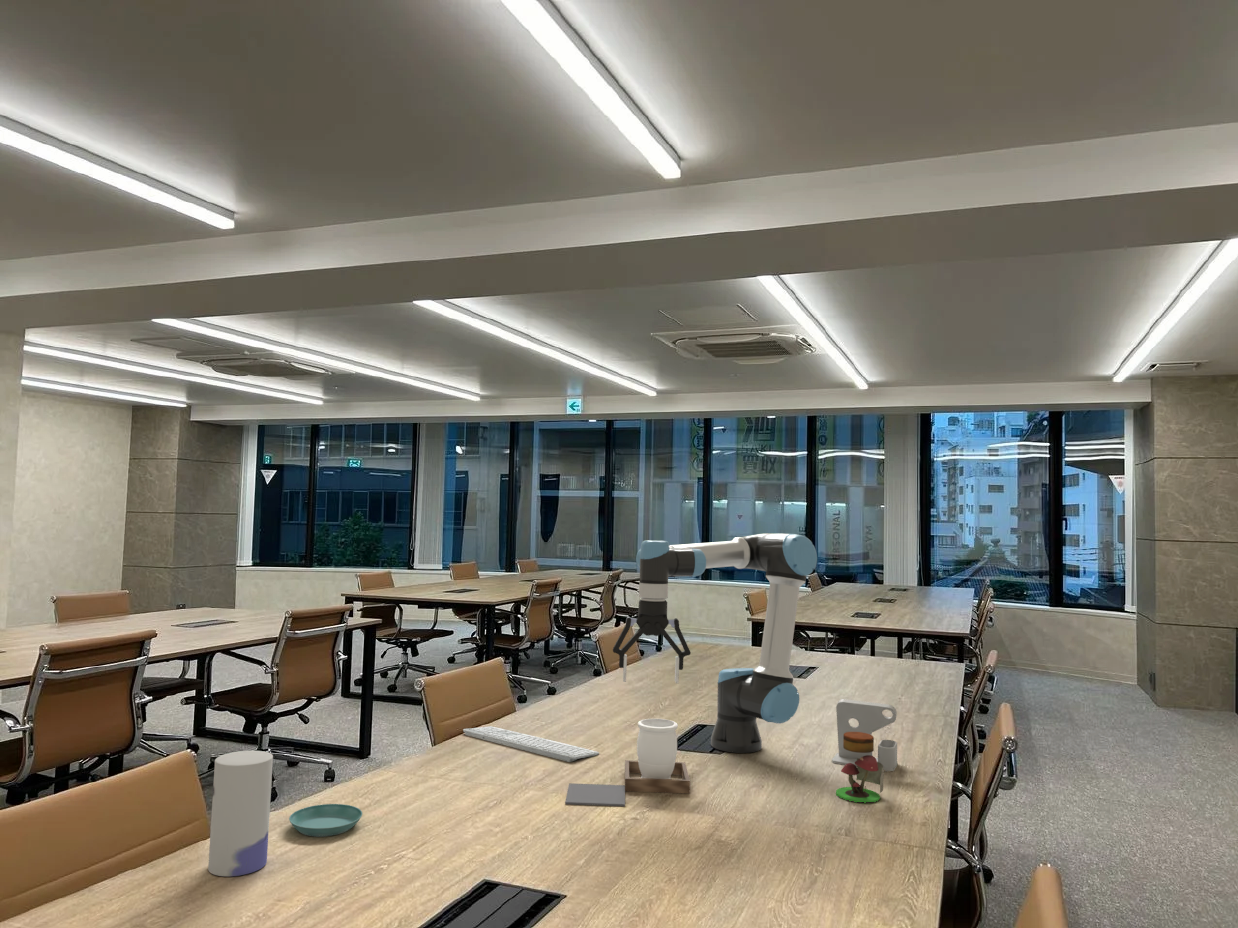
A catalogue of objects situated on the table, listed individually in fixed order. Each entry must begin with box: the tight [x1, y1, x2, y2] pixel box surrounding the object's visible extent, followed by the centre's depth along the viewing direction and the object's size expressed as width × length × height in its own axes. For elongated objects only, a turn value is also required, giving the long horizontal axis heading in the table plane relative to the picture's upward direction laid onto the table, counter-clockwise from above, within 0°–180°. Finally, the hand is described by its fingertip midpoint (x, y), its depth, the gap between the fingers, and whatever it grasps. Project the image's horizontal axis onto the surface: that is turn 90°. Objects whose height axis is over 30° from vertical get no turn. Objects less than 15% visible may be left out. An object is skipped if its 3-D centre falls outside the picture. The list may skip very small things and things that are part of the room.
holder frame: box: [624, 759, 691, 794], centre depth 215 cm, size 16×16×3 cm
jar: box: [636, 718, 678, 779], centre depth 215 cm, size 11×10×15 cm
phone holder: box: [831, 698, 898, 772], centre depth 239 cm, size 17×10×18 cm, turn 65°
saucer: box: [288, 803, 363, 838], centre depth 178 cm, size 15×15×3 cm
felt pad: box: [564, 783, 626, 807], centre depth 203 cm, size 14×14×1 cm
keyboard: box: [462, 725, 600, 763], centre depth 247 cm, size 44×12×2 cm, turn 53°
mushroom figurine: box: [835, 732, 885, 804], centre depth 209 cm, size 12×13×15 cm
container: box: [207, 750, 274, 877], centre depth 157 cm, size 10×10×20 cm
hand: (650, 681), depth 218 cm, fingers open, 13 cm apart
